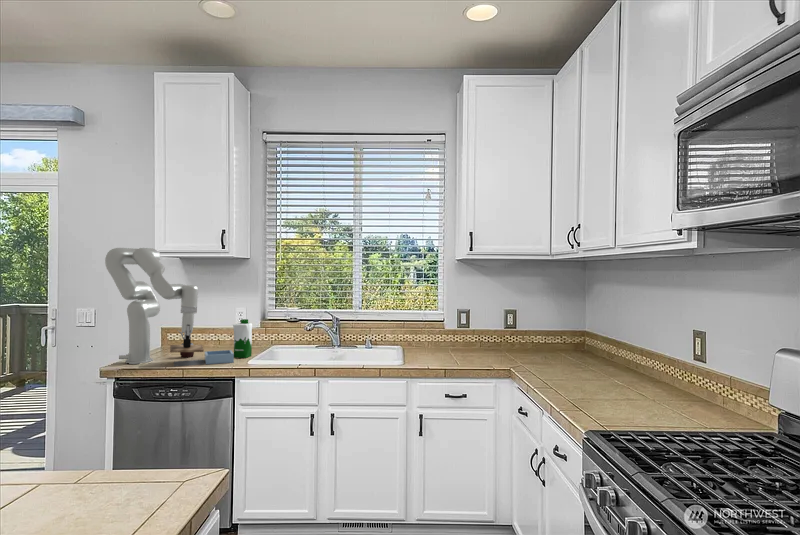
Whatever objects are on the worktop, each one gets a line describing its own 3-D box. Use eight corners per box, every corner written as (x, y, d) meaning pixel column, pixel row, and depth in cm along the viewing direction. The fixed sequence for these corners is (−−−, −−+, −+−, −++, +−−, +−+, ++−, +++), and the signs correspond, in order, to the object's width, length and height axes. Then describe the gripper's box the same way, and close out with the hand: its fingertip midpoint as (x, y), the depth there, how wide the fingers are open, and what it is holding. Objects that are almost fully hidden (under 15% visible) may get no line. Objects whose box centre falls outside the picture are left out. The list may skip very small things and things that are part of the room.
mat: (173, 367, 247) (173, 366, 247) (173, 362, 260) (173, 361, 260) (204, 365, 253) (204, 364, 253) (203, 360, 265) (203, 359, 265)
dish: (206, 365, 252) (206, 355, 252) (204, 361, 264) (204, 351, 264) (233, 363, 258) (233, 353, 258) (231, 359, 270) (231, 349, 270)
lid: (170, 352, 247) (170, 339, 247) (170, 347, 260) (171, 335, 260) (203, 351, 253) (204, 339, 253) (202, 346, 266) (202, 335, 266)
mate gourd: (195, 358, 271) (195, 330, 271) (179, 360, 267) (179, 331, 267) (192, 356, 278) (192, 329, 278) (177, 358, 273) (177, 329, 273)
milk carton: (253, 355, 281) (253, 319, 281) (246, 358, 272) (246, 321, 272) (238, 355, 282) (238, 319, 282) (231, 358, 273) (231, 320, 273)
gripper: (180, 308, 262) (178, 344, 262) (180, 311, 247) (178, 349, 248) (196, 308, 265) (194, 344, 265) (197, 311, 250) (195, 349, 251)
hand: (186, 346), depth 256 cm, fingers closed on lid, 2 cm apart
